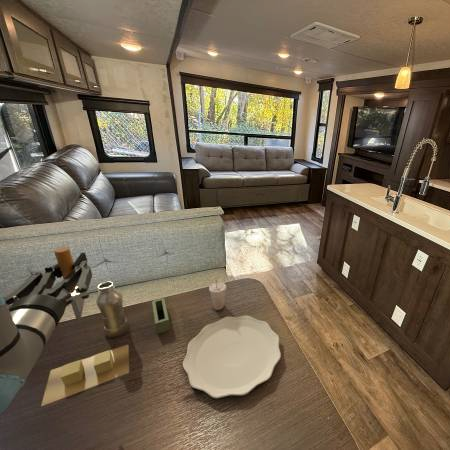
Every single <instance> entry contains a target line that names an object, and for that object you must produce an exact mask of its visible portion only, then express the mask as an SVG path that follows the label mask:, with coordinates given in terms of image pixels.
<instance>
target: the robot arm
mask: <svg viewBox="0 0 450 450" xmlns="http://www.w3.org/2000/svg"><path fill="white" fill-rule="evenodd" d="M73 262H74V264H73V265H72V268H73V270H72V271H71V272H70V273H69V274H68V275H67V276H66V277H65V278H64V279H63V277H62V274H61V271H60V268H59V265H58V262H57V263H54V264H53V265H52V266H46V267H44V272H40V271H37V272H35V273H33V274H32V275H31V276H29V277H28V278H27V279H26V280H25V281H24V282H23V283H21V285H19V286H18V287H17V288H16V289H15V290H14V291H13V292H11V293H10V294H8V295H6V296H4V295H3V294H2V293H1V292H0V414H2V413H3V412H4V411H6V409H7V408H9V406H10V404H11V403H12V402H13V400H14V399H15V397H16V395H18V392H19V391H20V390H21V389H22V388H23V387H24V386H25V383H26V380H27V379H28V377H29V375H30V373H31V371H32V370H33V368H34V366H35V365H36V363H37V361H38V359H39V358H40V356H41V354H42V352H43V351H44V348H45V346H46V345H47V343H48V341H49V340H50V338H51V337H52V334H53V333H54V331H55V329H56V327H58V325H59V324H60V322H61V319H62V318H63V316H64V314H65V312H66V308H67V307H68V306H70V305H71V303H72V301H73V300H74V299H76V298H79V297H82V299H84V300H86V299H88V298H89V297H90V293H89V287H90V284H91V282H92V278H93V272H92V269H91V266H90V265H88V258H87V255H86V252H85V251H84V252H81V253H80V254H79V255H78V257H77V258H76V260H75V261H73ZM59 278H62V280H61V281H60V282H56V279H59ZM55 282H56V283H55ZM77 283H78V284H77ZM54 284H55V285H54ZM76 284H77V286H78V287H75V290H74V292H73V293H72V294H71V292H70V291H71V290H72V289H73V287H74V286H75V285H76Z"/></svg>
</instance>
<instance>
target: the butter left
mask: <svg viewBox="0 0 450 450" xmlns="http://www.w3.org/2000/svg"><path fill="white" fill-rule="evenodd" d="M81 360H82V359H78V360H75V361H73V362H69V363H67V364H64V365H62V366H63V371H62V375H61V379H62V381H63V383H64V386H67V385H70V384H73V383H75V382H78V381H81V380H82V379H83V372H84V367H83V364H82V361H81Z"/></svg>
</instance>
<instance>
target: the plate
mask: <svg viewBox="0 0 450 450" xmlns="http://www.w3.org/2000/svg"><path fill="white" fill-rule="evenodd" d="M186 350H187V351H186V355H185V356H184V359H183V361H182V368H183V370H184V371H185V373H186V374H187V377H188V381H189V385H190V386H191V388H193V389H196V390H199V391H202V392H204V393H206V394H207V395H208V396H209V397H211V398H213V399H222V398H225V397H230V396H234V397H235V396H241V397H243V396H246V395H248V394H250V392H251V391H253V390H254V389H255V388H256V387H257V386H259V385H261V384H264V383H265V382H268V381H269V380H270V379H271V377H272V375H273V372H274V369H275V367H276V365H277V364H278V362H279V361H280V360H281V358H282V357H281V356H282V353H281V350H280V337H279V334H278V333H276V332H275V331H274V330H272V328H271V326H270V325H269V323H268V322H267V321H264V320H260V319H256V318H254V317H252V316H251V315H241V316H225V317H223V318H221V319H219V320H217V321H215V322H212V323H208V324H207V325H205V326H204V327H202V329H201V330H200V332H199V333H198V334H197V335H196V336H195V337H193V338H192V339H191V340H189V342H188V345H187V349H186Z"/></svg>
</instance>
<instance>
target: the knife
mask: <svg viewBox="0 0 450 450" xmlns="http://www.w3.org/2000/svg"><path fill="white" fill-rule="evenodd" d="M53 253H54V256H55V259H56V261H57V263H58V265H59V268H60V271H61V274H62V277H61V278H62V280H63V279H64V278H65V277H66V276H67V275H68V274H69V273H70V272H71V271H72V270H73V268H72V265H73V264H74V262H75V261H74V259H73V256H72V252H71V249H70V247H68V246H62V247H58V248H55V249H54V250H53ZM77 284H78V283H77ZM77 284H76V285H75V286H74V287H73V289H72V290H71V291H70V294H72V293H73V292H74V290H75V287H78V286H77ZM84 304H85V299H82V297H79V298H76V299H74V300H73V301H72V303H71V304H70V305H71V308H72V311H73V314H74V317H75V319H76V320H81V319H82V316H83V311H84Z"/></svg>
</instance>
